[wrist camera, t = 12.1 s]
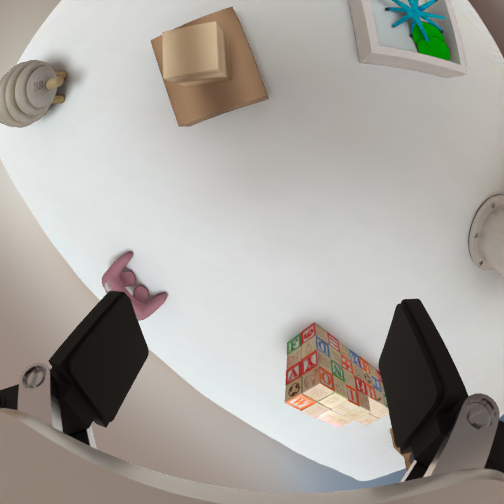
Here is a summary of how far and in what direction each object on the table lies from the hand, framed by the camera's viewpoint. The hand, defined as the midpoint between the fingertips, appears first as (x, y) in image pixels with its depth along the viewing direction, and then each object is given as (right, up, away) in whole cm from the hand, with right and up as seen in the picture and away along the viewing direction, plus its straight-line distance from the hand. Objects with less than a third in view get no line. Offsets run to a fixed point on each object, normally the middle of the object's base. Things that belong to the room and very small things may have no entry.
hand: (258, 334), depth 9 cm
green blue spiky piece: (+21, +32, +11) cm, 40 cm away
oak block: (-5, +23, +15) cm, 28 cm away
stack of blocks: (+15, -16, +35) cm, 42 cm away
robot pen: (+18, +32, +11) cm, 39 cm away
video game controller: (-18, -2, +32) cm, 37 cm away
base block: (-5, +24, +18) cm, 31 cm away
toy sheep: (-32, +28, +19) cm, 47 cm away
